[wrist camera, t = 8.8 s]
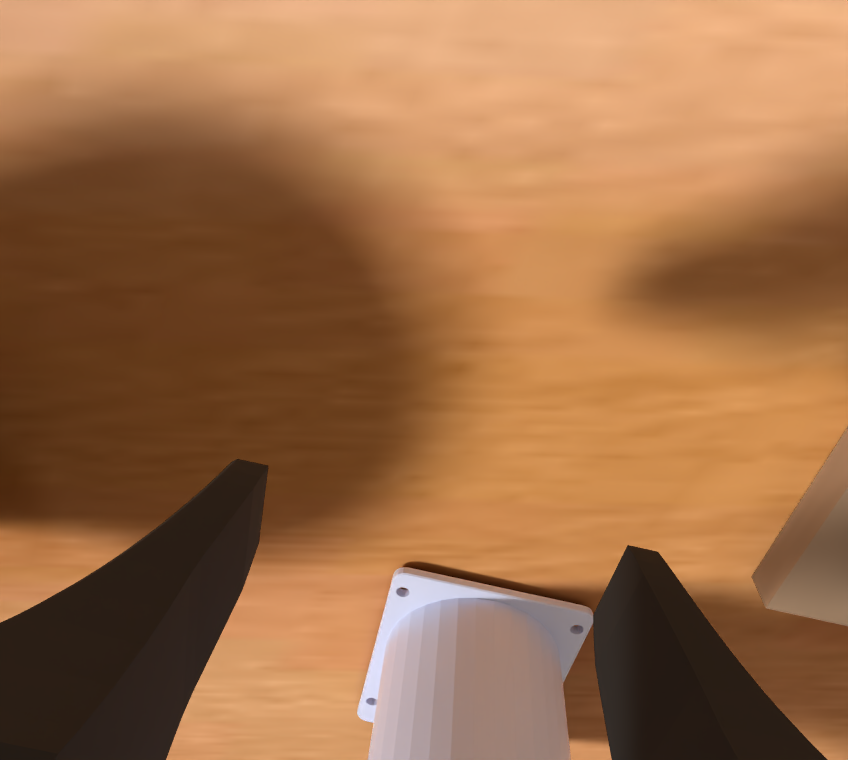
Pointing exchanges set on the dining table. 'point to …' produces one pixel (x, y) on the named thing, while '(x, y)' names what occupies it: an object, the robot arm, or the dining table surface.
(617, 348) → the dining table surface
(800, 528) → the ledge board
